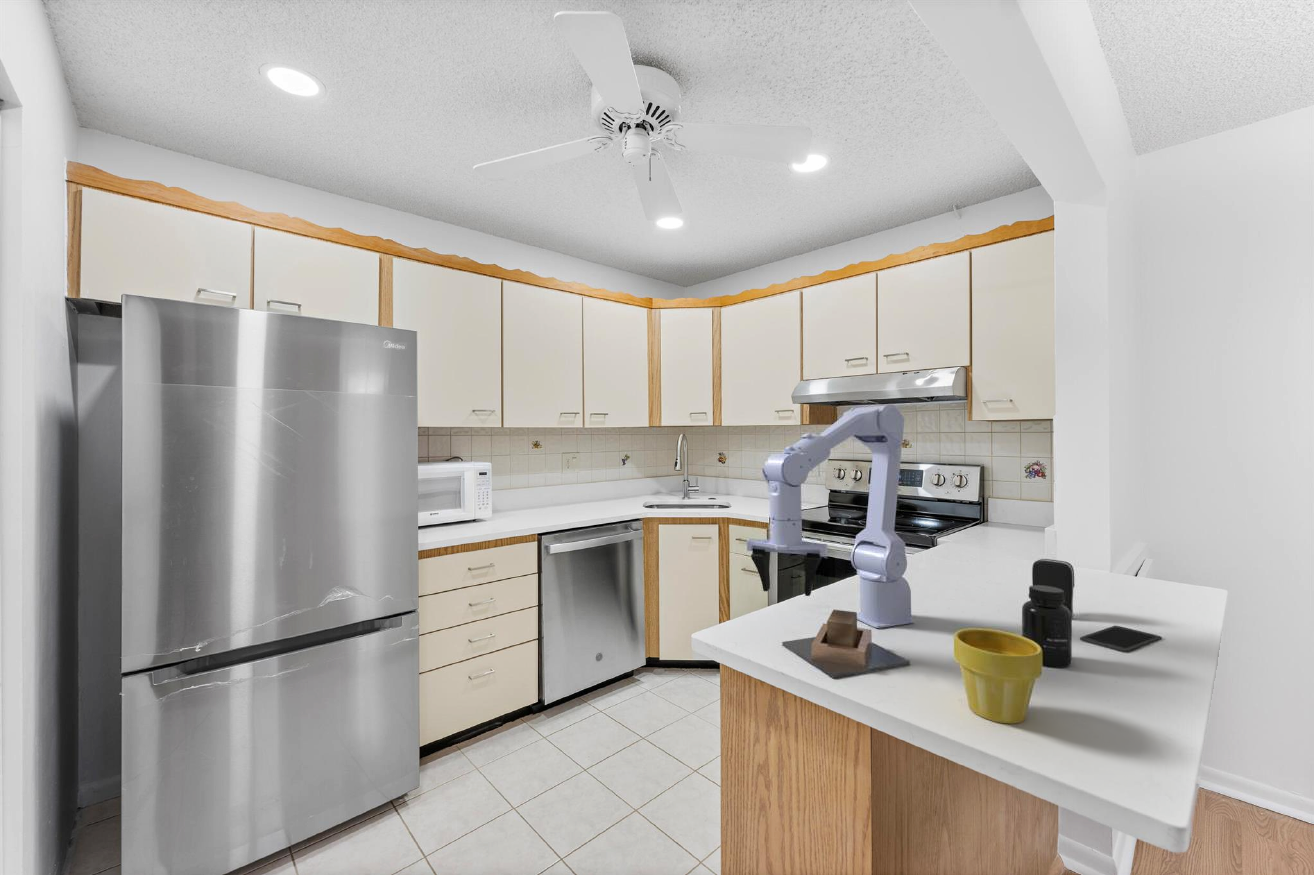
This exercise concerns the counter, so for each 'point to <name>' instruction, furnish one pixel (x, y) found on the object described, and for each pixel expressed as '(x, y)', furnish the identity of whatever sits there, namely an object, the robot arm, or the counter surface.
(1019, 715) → the plant pot
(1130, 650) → the cell phone
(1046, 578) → the battery charger
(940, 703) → the counter surface
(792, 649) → the duct collar
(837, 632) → the block
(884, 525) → the robot arm
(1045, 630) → the supplement bottle
